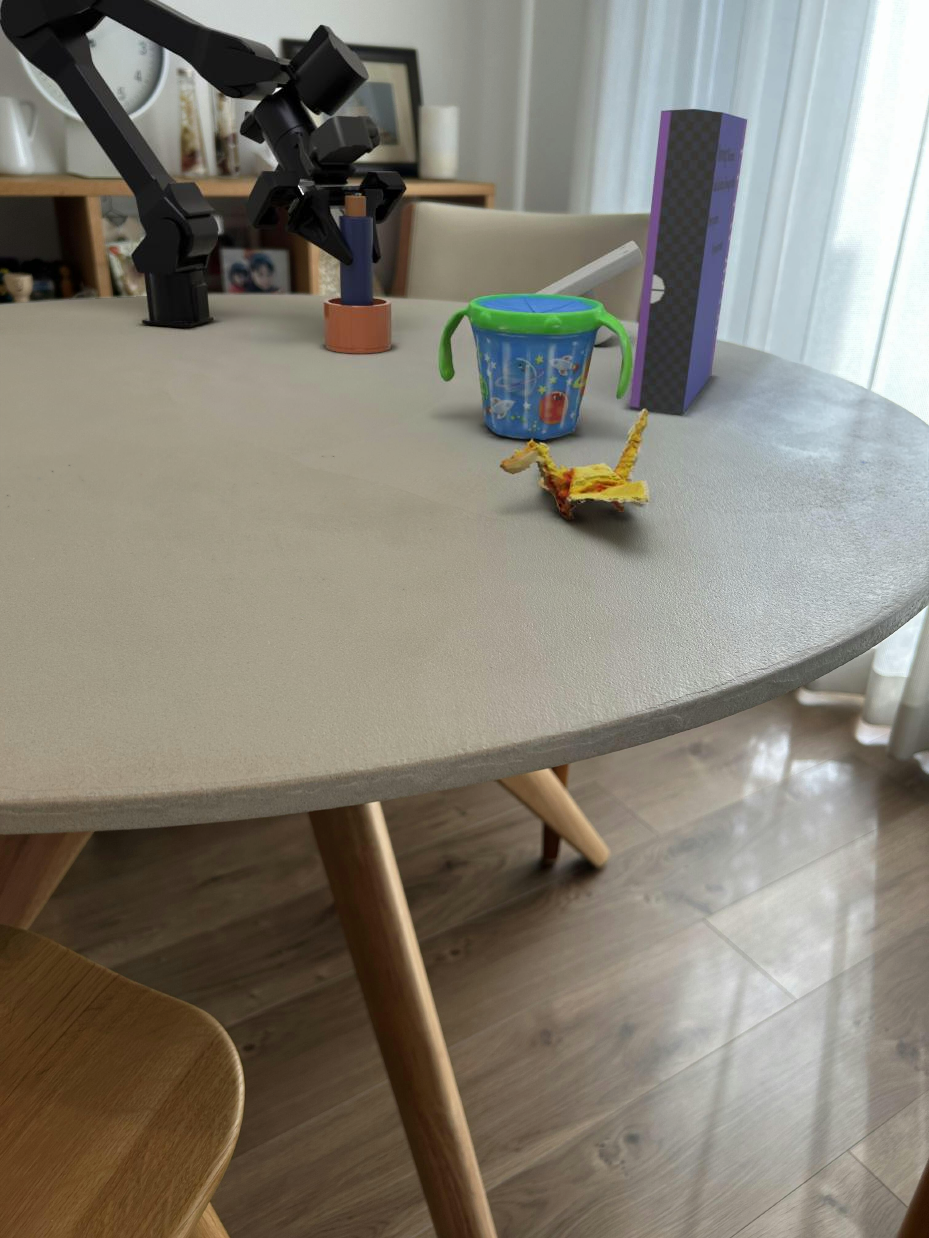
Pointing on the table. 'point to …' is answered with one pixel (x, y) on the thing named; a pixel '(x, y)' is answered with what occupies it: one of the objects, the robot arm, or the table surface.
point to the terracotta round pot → (357, 326)
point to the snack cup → (534, 359)
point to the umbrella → (357, 253)
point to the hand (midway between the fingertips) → (364, 262)
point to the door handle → (597, 278)
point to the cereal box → (686, 256)
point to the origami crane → (587, 474)
